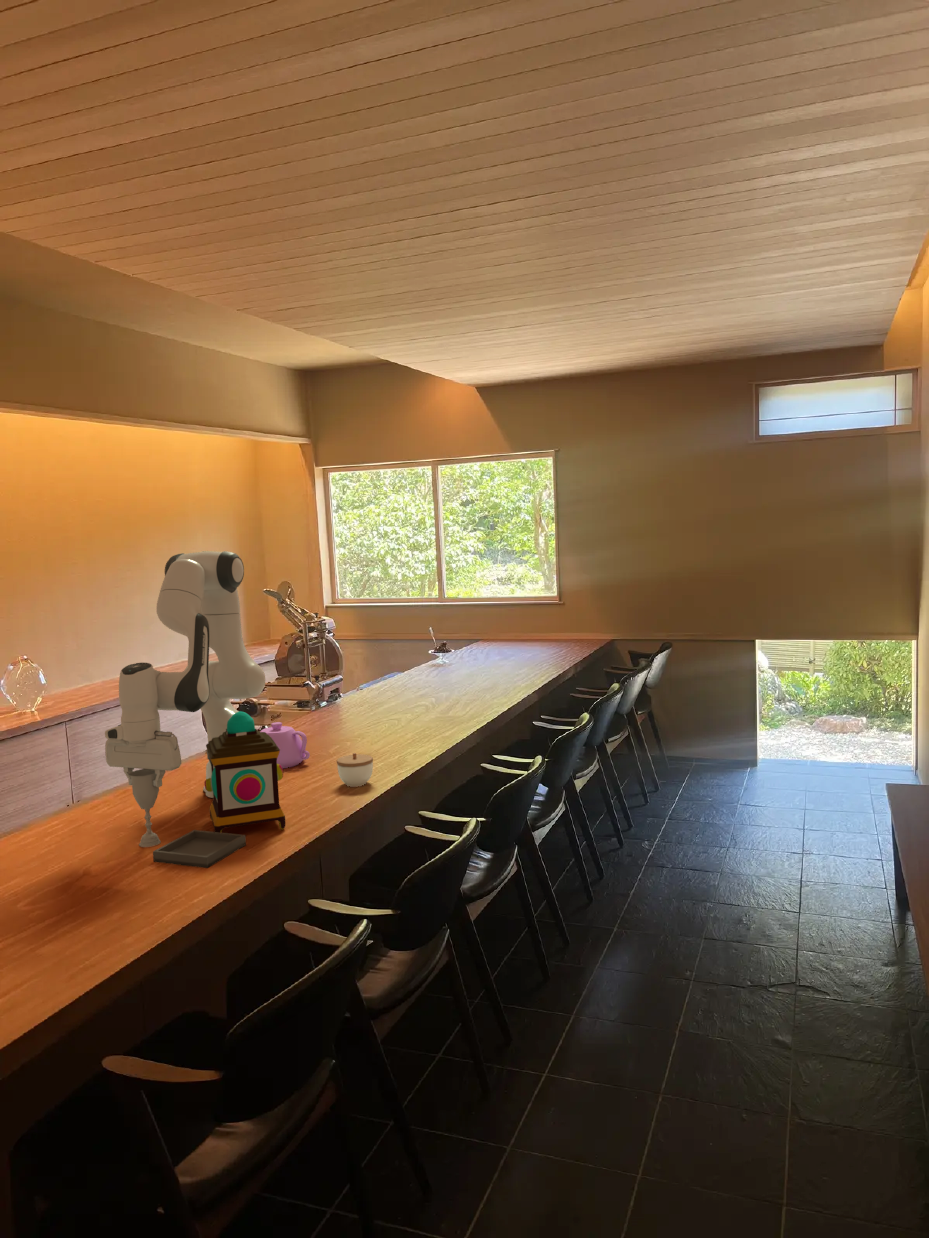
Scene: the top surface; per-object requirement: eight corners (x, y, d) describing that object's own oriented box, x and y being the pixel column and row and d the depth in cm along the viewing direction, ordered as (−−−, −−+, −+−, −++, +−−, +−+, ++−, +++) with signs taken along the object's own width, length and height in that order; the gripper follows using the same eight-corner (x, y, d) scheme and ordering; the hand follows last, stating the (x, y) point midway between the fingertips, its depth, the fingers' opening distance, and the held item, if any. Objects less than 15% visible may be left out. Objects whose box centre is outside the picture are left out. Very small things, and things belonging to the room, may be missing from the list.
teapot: (322, 757, 290) (319, 717, 289) (297, 772, 273) (294, 729, 272) (256, 755, 297) (253, 716, 296) (228, 768, 280) (225, 727, 279)
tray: (194, 839, 214) (194, 829, 214) (246, 844, 209) (245, 834, 208) (153, 861, 200) (152, 851, 200) (207, 868, 195) (206, 857, 194)
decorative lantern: (204, 819, 230) (197, 708, 227) (279, 808, 236) (273, 700, 234) (210, 843, 211) (202, 723, 208) (291, 830, 218) (284, 714, 215)
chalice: (155, 836, 217) (150, 766, 216) (170, 841, 213) (165, 770, 211) (128, 845, 212) (123, 773, 210) (143, 850, 207) (138, 777, 206)
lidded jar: (330, 787, 255) (329, 756, 254) (351, 777, 264) (350, 747, 264) (360, 790, 250) (359, 759, 249) (381, 780, 259) (379, 750, 259)
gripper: (184, 729, 209) (188, 784, 210) (117, 725, 216) (121, 779, 217) (167, 735, 203) (171, 792, 205) (99, 731, 210) (103, 786, 212)
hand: (145, 785), depth 211 cm, fingers closed on chalice, 6 cm apart
